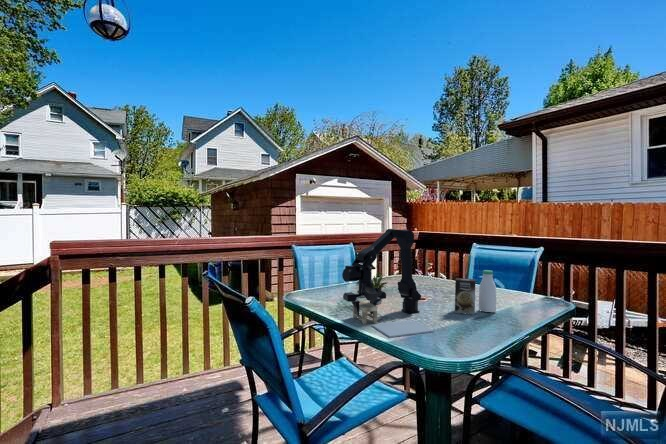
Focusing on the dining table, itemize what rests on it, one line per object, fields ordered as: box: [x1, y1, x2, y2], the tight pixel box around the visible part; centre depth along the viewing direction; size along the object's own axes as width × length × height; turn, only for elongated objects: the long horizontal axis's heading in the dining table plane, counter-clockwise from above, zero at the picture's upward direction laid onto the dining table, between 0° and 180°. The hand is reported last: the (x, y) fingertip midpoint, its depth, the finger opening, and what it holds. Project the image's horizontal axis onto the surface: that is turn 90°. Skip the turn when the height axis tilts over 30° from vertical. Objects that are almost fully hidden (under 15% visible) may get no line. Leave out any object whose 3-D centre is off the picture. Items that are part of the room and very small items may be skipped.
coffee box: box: [454, 277, 476, 315], centre depth 164 cm, size 9×6×16 cm
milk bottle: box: [478, 269, 497, 313], centre depth 166 cm, size 8×8×20 cm
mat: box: [371, 319, 435, 339], centre depth 139 cm, size 20×15×1 cm
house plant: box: [372, 273, 389, 305], centre depth 180 cm, size 14×14×16 cm
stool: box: [352, 300, 378, 325], centre depth 151 cm, size 6×11×7 cm, turn 21°
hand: (364, 315), depth 151 cm, fingers closed on stool, 6 cm apart
